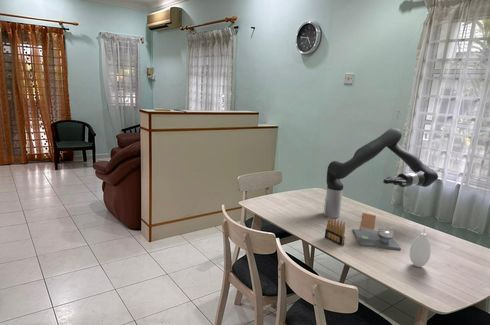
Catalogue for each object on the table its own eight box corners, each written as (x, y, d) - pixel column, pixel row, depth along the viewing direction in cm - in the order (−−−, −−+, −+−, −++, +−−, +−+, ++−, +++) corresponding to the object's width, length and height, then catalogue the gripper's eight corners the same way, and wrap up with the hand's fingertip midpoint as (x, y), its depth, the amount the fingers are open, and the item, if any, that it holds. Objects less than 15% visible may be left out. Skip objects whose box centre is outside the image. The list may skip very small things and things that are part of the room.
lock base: (360, 245, 160) (361, 238, 160) (352, 230, 178) (353, 223, 177) (400, 250, 159) (401, 242, 158) (388, 234, 176) (389, 227, 175)
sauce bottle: (404, 260, 149) (411, 223, 145) (421, 261, 149) (429, 225, 145) (412, 269, 141) (420, 231, 137) (430, 271, 141) (438, 232, 137)
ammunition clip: (343, 245, 160) (347, 222, 157) (341, 246, 159) (344, 223, 156) (326, 237, 168) (329, 215, 166) (324, 237, 167) (326, 215, 164)
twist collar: (392, 235, 165) (395, 217, 163) (392, 240, 159) (395, 222, 156) (360, 228, 171) (363, 210, 169) (358, 232, 165) (361, 214, 163)
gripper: (399, 170, 187) (376, 171, 180) (419, 176, 175) (395, 178, 168) (396, 182, 188) (374, 184, 181) (416, 189, 177) (393, 192, 170)
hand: (384, 181), depth 175 cm, fingers closed
